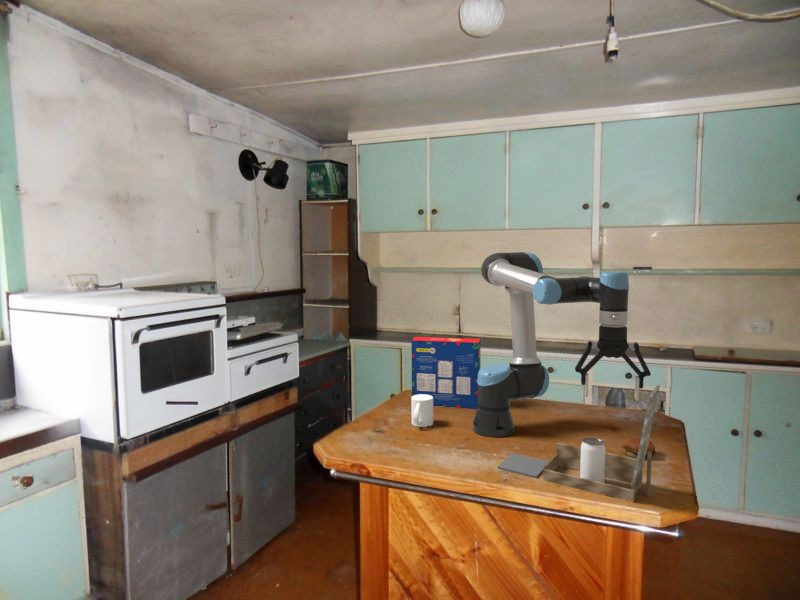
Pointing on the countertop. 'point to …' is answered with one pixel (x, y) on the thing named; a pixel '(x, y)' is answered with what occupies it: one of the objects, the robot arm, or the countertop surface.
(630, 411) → the countertop surface
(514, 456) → the mat
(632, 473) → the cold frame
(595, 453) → the can
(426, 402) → the mug
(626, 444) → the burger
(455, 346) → the blue board game box
